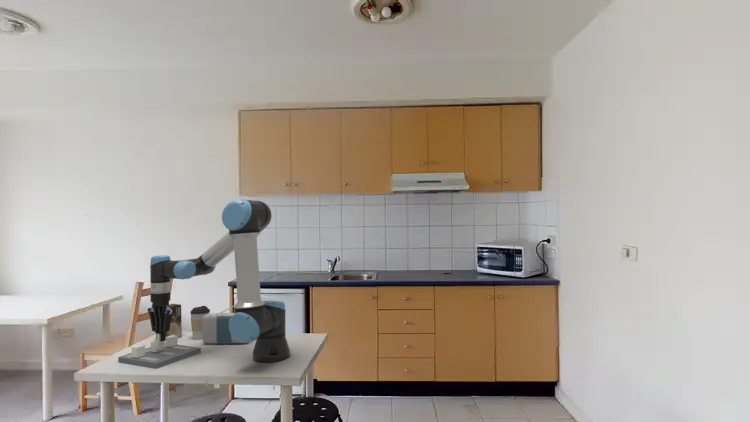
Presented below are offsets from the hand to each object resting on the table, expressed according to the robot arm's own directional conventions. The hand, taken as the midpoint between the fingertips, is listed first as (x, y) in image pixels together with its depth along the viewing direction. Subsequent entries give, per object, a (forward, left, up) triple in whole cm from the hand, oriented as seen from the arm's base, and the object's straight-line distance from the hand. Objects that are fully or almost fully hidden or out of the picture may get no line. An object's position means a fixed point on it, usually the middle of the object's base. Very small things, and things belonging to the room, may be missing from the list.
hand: (160, 348), depth 180 cm
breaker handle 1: (+3, +8, -1) cm, 9 cm away
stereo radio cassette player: (-11, -28, -4) cm, 30 cm away
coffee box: (+22, -23, -4) cm, 32 cm away
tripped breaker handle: (+2, 0, -1) cm, 3 cm away
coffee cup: (+8, -29, -4) cm, 30 cm away
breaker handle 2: (+3, -8, -1) cm, 9 cm away
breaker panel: (0, 0, -4) cm, 4 cm away
